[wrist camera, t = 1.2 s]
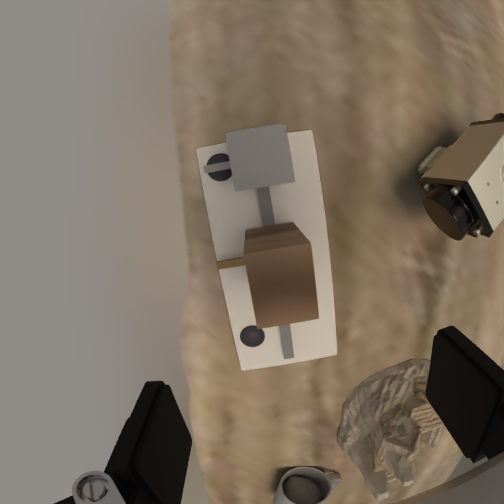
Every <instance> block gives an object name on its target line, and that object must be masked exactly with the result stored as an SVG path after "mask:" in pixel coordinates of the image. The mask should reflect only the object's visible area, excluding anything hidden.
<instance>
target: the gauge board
mask: <svg viewBox="0 0 504 504" xmlns="http://www.w3.org/2000/svg"><path fill="white" fill-rule="evenodd" d="M225 137H226V143H222V144H217V145H211V146H207V147H202V148H197V149H196V152H197V158H198V164H199V169H200V175H201V180H202V186H203V191H204V197H205V202H206V207H207V212H208V217H209V223H210V228H211V233H212V238H213V243H214V248H215V253H216V257H217V261H220V260H226V259H232V258H238V257H244V255H243V253H244V242H245V230H246V229H252V228H258V227H264V226H270V225H276V224H282V223H289V222H294V224H295V225H296V226H297V227H298V228H299V229H300V231H301V232H302V233H303V234H304V235H305V237H306V238H307V239H308V240H309V241H310V242H311V247H312V255H313V264H314V272H315V281H316V291H317V301H318V311H319V319H315V320H310V321H304V322H299V323H293V324H287V325H281V326H275V327H269V328H263V329H257V325H256V319H255V314H254V309H253V303H252V298H251V293H250V287H249V282H248V276H247V271H246V266H245V265H244V266H238V267H232V268H225V269H219V272H220V277H221V281H222V286H223V291H224V295H225V300H226V304H227V309H228V313H229V318H230V322H231V327H232V331H233V335H234V340H235V344H236V348H237V353H238V357H239V361H240V365H241V370H242V371H243V370H251V369H258V368H265V367H272V366H278V365H284V364H290V363H296V362H302V361H307V360H312V359H317V358H323V357H327V356H332V355H337V343H336V325H335V310H334V297H333V285H332V274H331V263H330V253H329V244H328V235H327V227H326V219H325V211H324V203H323V196H322V189H321V182H320V175H319V169H318V163H317V156H316V150H315V145H314V139H313V133H312V130H307V131H299V132H291V133H287V130H286V124H285V123H283V124H275V125H268V126H261V127H255V128H249V129H243V130H237V131H231V132H226V133H225Z"/></svg>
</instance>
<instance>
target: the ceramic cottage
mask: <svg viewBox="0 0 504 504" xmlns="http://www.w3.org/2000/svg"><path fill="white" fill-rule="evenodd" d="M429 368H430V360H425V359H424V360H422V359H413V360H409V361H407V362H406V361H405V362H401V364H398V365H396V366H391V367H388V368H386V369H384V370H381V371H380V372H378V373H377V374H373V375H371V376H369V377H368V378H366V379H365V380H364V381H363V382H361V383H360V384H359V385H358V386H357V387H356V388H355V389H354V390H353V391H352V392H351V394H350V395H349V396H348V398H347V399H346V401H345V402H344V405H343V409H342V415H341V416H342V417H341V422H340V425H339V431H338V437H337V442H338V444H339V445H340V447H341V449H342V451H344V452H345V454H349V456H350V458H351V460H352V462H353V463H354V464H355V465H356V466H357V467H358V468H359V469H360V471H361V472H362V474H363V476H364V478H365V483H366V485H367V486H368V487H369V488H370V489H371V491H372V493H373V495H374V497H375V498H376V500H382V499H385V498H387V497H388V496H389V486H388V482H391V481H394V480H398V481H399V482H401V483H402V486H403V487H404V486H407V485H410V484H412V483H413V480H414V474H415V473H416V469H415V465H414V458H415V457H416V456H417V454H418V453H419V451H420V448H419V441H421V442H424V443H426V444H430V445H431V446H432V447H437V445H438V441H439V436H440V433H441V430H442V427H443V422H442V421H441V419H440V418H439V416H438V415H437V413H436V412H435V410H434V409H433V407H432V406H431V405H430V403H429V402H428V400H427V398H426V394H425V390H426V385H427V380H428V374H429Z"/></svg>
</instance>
